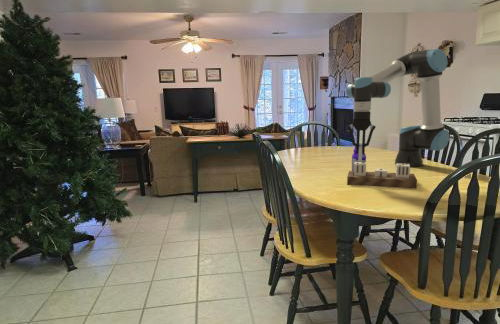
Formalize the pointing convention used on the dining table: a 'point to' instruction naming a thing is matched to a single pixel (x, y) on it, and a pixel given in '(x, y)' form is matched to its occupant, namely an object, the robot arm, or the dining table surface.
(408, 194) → the dining table surface
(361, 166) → the key two
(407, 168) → the key three
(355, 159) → the bottle
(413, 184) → the keyboard base
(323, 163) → the dining table surface
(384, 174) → the cream block
